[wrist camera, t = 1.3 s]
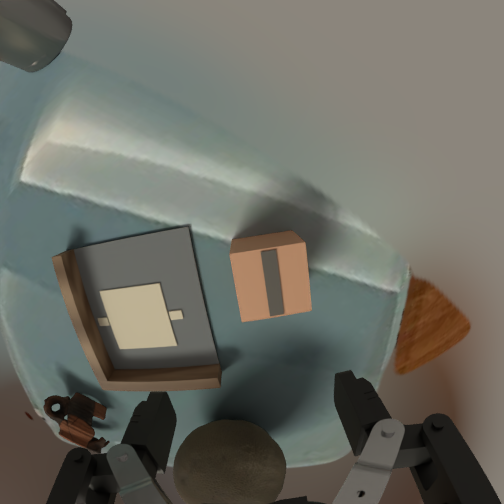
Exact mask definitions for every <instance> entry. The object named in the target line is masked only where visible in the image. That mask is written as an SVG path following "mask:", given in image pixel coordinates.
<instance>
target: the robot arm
mask: <svg viewBox="0 0 504 504" xmlns="http://www.w3.org/2000/svg"><path fill="white" fill-rule="evenodd" d="M71 30H72V21H71V19H70V18H69V17H68V16H67V15H66V10H64V9H63V8H62V7H61V6H60V5H59V4H57V3H56V2H55V1H54V0H0V61H3V62H5V63H8V64H10V65H12V66H15V67H17V68H20V69H22V70H25V71H27V72H35V71H38V70H40V69H42V68H43V67H45V66H46V65H48V64H49V63H50V62H51V61H52V60H53V59H54V58H55V57H56V56H57V55H58V54H59V52H60V51H61V50H62V49H63V47H64V45H65V44H66V42H67V40H68V38H69V36H70V33H71ZM334 403H335V407H336V410H337V412H338V415H339V417H340V420H341V422H342V425H343V427H344V430H345V432H346V435H347V438H348V440H349V443H350V445H351V448H352V451H353V453H354V456H358V455H360V457H359V459H358V461H357V463H355V464H354V466H353V468H352V470H351V471H350V473H349V475H348V477H347V479H346V481H345V482H344V484H343V486H342V488H341V489H340V491H339V493H338V495H337V496H336V498H335V499H334V501H333V503H332V504H378V502H379V501H380V498H381V496H382V494H383V492H384V489H385V487H386V485H387V482H388V480H389V477H390V474H391V472H392V469H394V468H404V467H409V468H410V470H411V473H412V475H413V477H414V480H415V482H416V484H417V487H418V489H419V492H420V494H421V497H422V499H423V502H424V504H501V502H500V500H499V498H498V496H497V494H496V493H495V491H494V489H493V487H492V486H491V483H490V482H489V480H488V478H487V476H486V475H485V473H484V471H483V469H482V468H481V466H480V465H479V463H478V461H477V459H476V458H475V456H474V454H473V453H472V451H471V450H470V448H469V447H468V445H467V443H466V442H465V440H464V439H463V437H462V436H461V434H460V433H459V431H458V429H457V428H456V426H455V425H454V423H453V422H452V420H451V419H450V418H449V417H448V416H446V415H444V414H432V415H430V416H428V417H427V418H426V419H425V421H424V422H423V423H422V424H413V425H403V424H402V423H401V422H400V421H398V420H395V419H392V418H391V416H390V414H389V413H388V411H387V410H386V408H385V406H384V404H383V403H382V401H381V399H380V398H379V397H378V394H377V393H376V391H375V389H374V388H373V386H372V384H371V383H370V382H369V381H367V380H366V379H364V378H359V379H356V378H355V376H354V374H353V372H352V371H351V370H349V371H344V372H340V373H336V374H335V384H334ZM176 422H177V419H176V413H175V410H174V408H173V406H172V403H171V401H170V398H169V396H168V394H167V392H165V391H151V392H150V394H149V396H148V399H147V401H142V402H141V403H140V404H139V405H138V406H137V407H136V408H135V410H134V412H133V416H132V417H131V419H130V422H129V424H128V427H127V429H126V431H125V434H124V436H123V439H122V441H121V443H120V444H117V445H115V446H113V447H111V448H110V449H109V451H108V452H107V453H104V454H94V455H91V453H90V452H89V451H88V450H87V449H85V448H81V447H78V448H74V449H72V450H71V451H70V452H68V454H67V456H66V458H65V460H64V462H63V464H62V467H61V469H60V471H59V474H58V476H57V478H56V481H55V483H54V485H53V488H52V490H51V493H50V495H49V498H48V500H47V503H46V504H114V502H115V498H116V494H117V493H118V492H119V493H120V496H121V498H122V500H123V501H124V504H172V502H171V501H170V499H169V498H168V497H167V496H166V494H165V492H164V491H163V490H162V488H161V486H160V485H159V483H158V482H157V480H156V479H155V477H156V473H163V474H165V470H166V466H167V461H168V457H169V453H170V448H171V444H172V440H173V436H174V431H175V427H176ZM202 504H207V503H202ZM269 504H325V503H320V502H309V501H307V496H304V497H298V498H291V499H284V500H279V501H276V502H272V503H269Z"/></svg>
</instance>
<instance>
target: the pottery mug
mask: <svg viewBox="0 0 504 504" xmlns="http://www.w3.org/2000/svg"><path fill="white" fill-rule="evenodd" d="M44 401H45V405H44V411H45V413H46V414H47V415H48V416H49V417H50V418H51V419H53V420H55V421H56V422H57V423H58V424H59V427H60V432H59V435H60V436H62V437H63V438H65V439H67V440H69V441H71V442H72V443H75V444H77V445H79V446H81V447H83V448H86V449H88V450H90V451H93V452H96V453H101V448H103V447H105V446H106V445H108V443H110V441H107V442H106V440H105V439H104V438H103V437H101V438H100V439H99V440H98V439H97V438H94V435H95V432H94V429H93V428H92V427H91V426H92V417H93V416H95V417H98V418H100V419H102V420H104V419H105V414H106V410H107V408H106V407H104V406H103V405H101V404H99V403H97V402H95V401H93V400H91V399H90V398H88V397H86V396H84V395H82V394H79V393H75V395H74V396H73V397H72V398H71V399H70V398H69V396H67V397H61V396H57V395H54V396H50V397H48V398H47V399H45V400H44ZM54 404H60V409H59V410H58V411H55V412H54V411H52V408H51V407H52V405H54ZM67 414H68V418H67V420H66V419H64V416H66V415H67Z"/></svg>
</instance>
